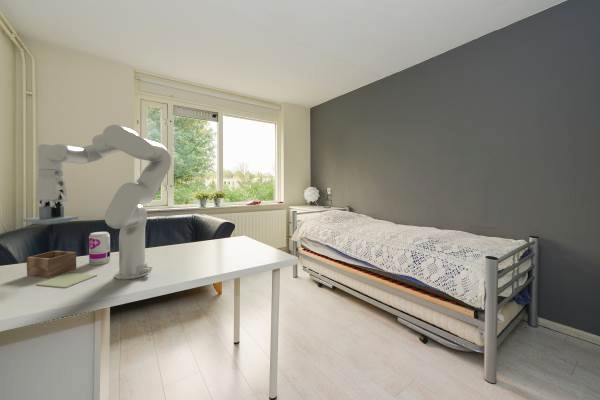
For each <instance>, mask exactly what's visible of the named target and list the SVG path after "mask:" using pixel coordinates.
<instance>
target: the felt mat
mask: <svg viewBox="0 0 600 400" xmlns="http://www.w3.org/2000/svg"><path fill="white" fill-rule="evenodd" d="M95 277H97V274H90V273H89V274H88V273H79V272H67V273H64V274H61V275H58V276H55V277H52V278H49V279H48V280H44V281H42V282H39V283H35V286H40V287H52V288H62V289H67V288H70V287H72V286H74V285H77V284H80V283H83V282H85V281H87V280H91V279H93V278H95Z"/></svg>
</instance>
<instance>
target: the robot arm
mask: <svg viewBox="0 0 600 400" xmlns="http://www.w3.org/2000/svg"><path fill="white" fill-rule="evenodd" d="M92 137H93V138H92V139H91V143H92V144H89V145H85V146H77V145H71V144H64V143H55V144H50V143H49V144H46V143H39V144H38V145H37V148H36V154H37V181H36V201H37V202H38V203H39V204H40V205H41V206H40V207H44V206H53V208H52V217H60V216H61V207H62V206H64V204H65V203H67V200H68V190H67V189H68V188H67V182H66V179H65V177H64V176H63V175H64V172H63V163H69V164H79V165H81V164H87V163H92V162H96V161H99V160H103V159H104V158H105V157H107V156H108V155H111V154H116V153H120V152H123V153H125V154H126V155H128V156H131V157H133V158H134V159H137V160H143V161H147V162H149V163H148V164H147V165H146V167H144V169H143V170H142V172H141V174H140V176H139V178H138V179H137V180H136V181H129V182H125V183H123V184H122V185H121V186H119V188H118V189H117V190H116V192H115V194H114V195H113V197H112V199H111V201H110V203H109V205H108V206H107V209H106V210H105V214H104V221H105V224H107V226H108V227H110V228H111V229H116V230H117V229H118V230H119V229H120V230H119V234H118V235H119V237H118V251H119V252H118V254H119V255H118V259H119V260H118V264H119V265H118V266H119V268H118V269H119V270H118V271H116V272H115V273H114V277H115V278H116V279H117V280H132V279H138V278H142V277H145V276H146V275H148V274H150V273H152V270H153V267H152V266H148V263H147V262H146V226H147V221H148V212H147V209H146V208H145V207H144V206H143V205H144V204H149V203H151V202H152V201H153V199H155V196H156V194H157V192H158V191H159V190H160V187H161V185H162V183H163V181H164V179H165V177H166V176H167V175H168V173H169V170H170V169H171V166H172V157H171V153H170V152H169V150H168V149H167V148H166V146H164V145H163V144H161V143H159V142H156V141H153V140H150V139H147V138H145V137H144V138H143V137H141V136H139V134H138V133H137V132H136V131H135V130H133V129H132V128H129V127H126V126H122V125H120V124H110V125H107V126H106V127H105V128H104V129H103V131H102V134H96V135H94V136H92Z"/></svg>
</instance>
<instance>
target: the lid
mask: <svg viewBox="0 0 600 400" xmlns="http://www.w3.org/2000/svg"><path fill="white" fill-rule="evenodd" d="M52 208H53V205H51V206H44V207H41V206H38V217H29V218H23V221H22V222H25V223H32V224H36V225H37V224H38V225H39V224H40V225H57V224H63V223H70V222H71V221H72V220H79V216H72V215H68V216H67V215H65V206H64V205H62V207H61V216H60V217H52Z"/></svg>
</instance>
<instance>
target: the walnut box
mask: <svg viewBox="0 0 600 400" xmlns="http://www.w3.org/2000/svg"><path fill="white" fill-rule="evenodd" d="M75 270H77V251H64V250H63V251H62V250H52V251H48V252H44V253H38V254H35V255H32V256H31V255H30V256H26V276H27V277H34V278H44V279H53V278H56V277H59V276H62V275H65V274H68V273H71V272H73V271H75Z"/></svg>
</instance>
